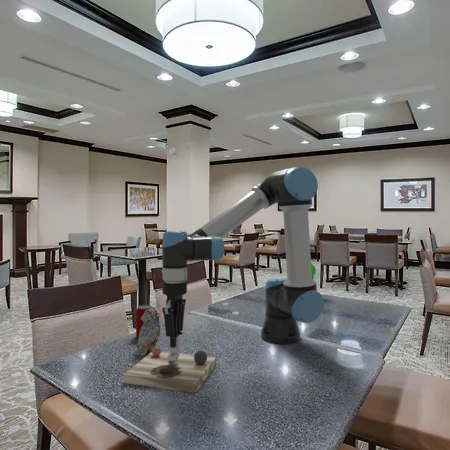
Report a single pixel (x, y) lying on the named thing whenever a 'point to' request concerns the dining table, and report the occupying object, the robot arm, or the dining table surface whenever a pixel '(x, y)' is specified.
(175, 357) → the steel ball
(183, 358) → the board
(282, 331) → the robot arm
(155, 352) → the pink rubber ball
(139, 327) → the beverage can
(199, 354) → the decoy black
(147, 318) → the figurine
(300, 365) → the dining table surface
